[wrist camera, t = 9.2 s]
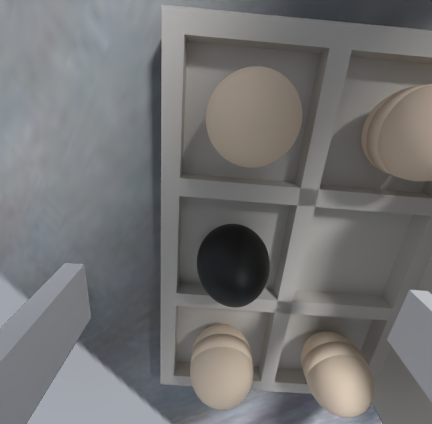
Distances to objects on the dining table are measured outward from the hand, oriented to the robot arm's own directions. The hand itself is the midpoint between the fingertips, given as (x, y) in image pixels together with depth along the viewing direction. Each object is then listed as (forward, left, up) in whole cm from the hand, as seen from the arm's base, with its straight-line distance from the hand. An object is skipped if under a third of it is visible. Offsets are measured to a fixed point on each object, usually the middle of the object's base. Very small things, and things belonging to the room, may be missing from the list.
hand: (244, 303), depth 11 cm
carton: (0, +4, -7) cm, 8 cm away
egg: (+1, 0, -6) cm, 6 cm away
